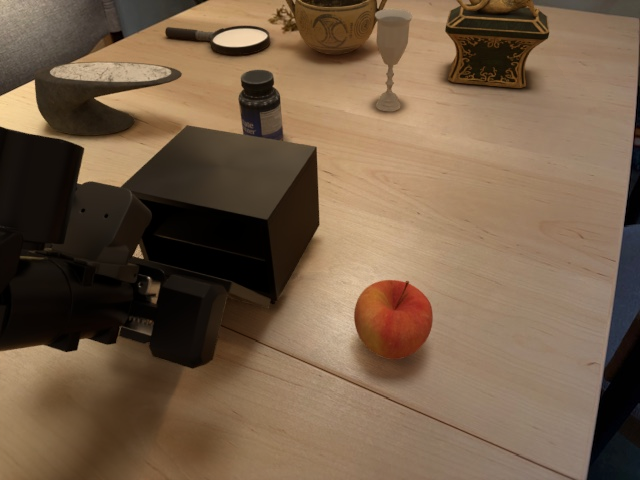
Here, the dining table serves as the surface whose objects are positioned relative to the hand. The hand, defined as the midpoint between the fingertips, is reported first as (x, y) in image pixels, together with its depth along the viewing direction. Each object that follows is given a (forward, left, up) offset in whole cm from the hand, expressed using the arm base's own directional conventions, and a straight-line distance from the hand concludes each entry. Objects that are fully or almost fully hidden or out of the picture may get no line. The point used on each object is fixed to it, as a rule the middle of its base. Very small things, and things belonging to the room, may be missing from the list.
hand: (166, 295), depth 49 cm
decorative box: (+74, -8, -7) cm, 75 cm away
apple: (+10, -19, -7) cm, 22 cm away
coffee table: (+30, +39, -7) cm, 50 cm away
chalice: (+56, +2, -7) cm, 56 cm away
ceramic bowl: (+74, +22, -7) cm, 78 cm away
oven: (+13, +2, -7) cm, 15 cm away
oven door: (+4, +1, -6) cm, 7 cm away
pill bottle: (+36, +14, -7) cm, 39 cm away
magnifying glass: (+66, +47, -7) cm, 81 cm away
